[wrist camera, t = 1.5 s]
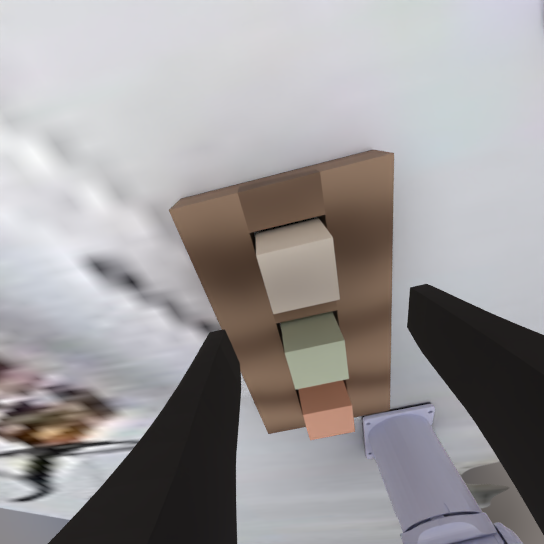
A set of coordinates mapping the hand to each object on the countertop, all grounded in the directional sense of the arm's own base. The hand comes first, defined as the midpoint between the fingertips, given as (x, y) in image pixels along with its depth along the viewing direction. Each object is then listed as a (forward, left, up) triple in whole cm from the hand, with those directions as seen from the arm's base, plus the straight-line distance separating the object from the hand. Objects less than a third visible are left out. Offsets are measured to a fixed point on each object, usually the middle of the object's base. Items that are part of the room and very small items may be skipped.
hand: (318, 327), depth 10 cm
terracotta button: (-14, 0, -7) cm, 16 cm away
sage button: (-7, 0, -7) cm, 10 cm away
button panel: (-7, 0, -9) cm, 11 cm away
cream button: (0, 0, -7) cm, 7 cm away
